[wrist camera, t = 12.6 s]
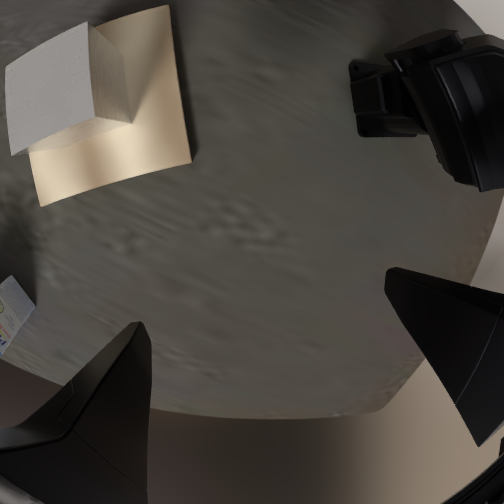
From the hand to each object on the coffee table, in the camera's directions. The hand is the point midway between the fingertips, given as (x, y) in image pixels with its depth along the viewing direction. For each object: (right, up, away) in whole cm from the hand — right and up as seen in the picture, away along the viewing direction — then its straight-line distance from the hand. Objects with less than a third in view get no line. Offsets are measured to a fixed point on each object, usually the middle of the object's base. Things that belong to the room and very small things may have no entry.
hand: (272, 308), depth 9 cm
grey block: (-12, +13, +6) cm, 18 cm away
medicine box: (-27, -4, +11) cm, 29 cm away
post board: (-12, +13, +7) cm, 19 cm away
